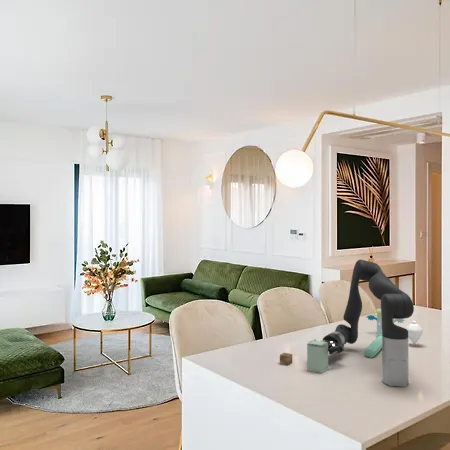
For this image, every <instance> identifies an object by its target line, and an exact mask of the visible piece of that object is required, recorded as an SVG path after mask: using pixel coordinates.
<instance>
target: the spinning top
mask: <svg viewBox="0 0 450 450" xmlns="http://www.w3.org/2000/svg"><path fill="white" fill-rule="evenodd" d="M405 329H407V330H408V339H409V340H410V341H411V343H412V344H413V346H414V347H415V346H416V344H417V342H419V340H420V339H421V337H422V336H423V333H424V331H423V328H422V326H420V324H418V323H417V321H416V320H411V323H409V324H408V325H407V326H406V328H405Z"/></svg>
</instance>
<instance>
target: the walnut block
mask: <svg viewBox="0 0 450 450" xmlns="http://www.w3.org/2000/svg"><path fill="white" fill-rule="evenodd" d="M292 364H293V353H288V352H282V353H281V354H279V365H283V366H288V367H289V366H290V365H292Z"/></svg>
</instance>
